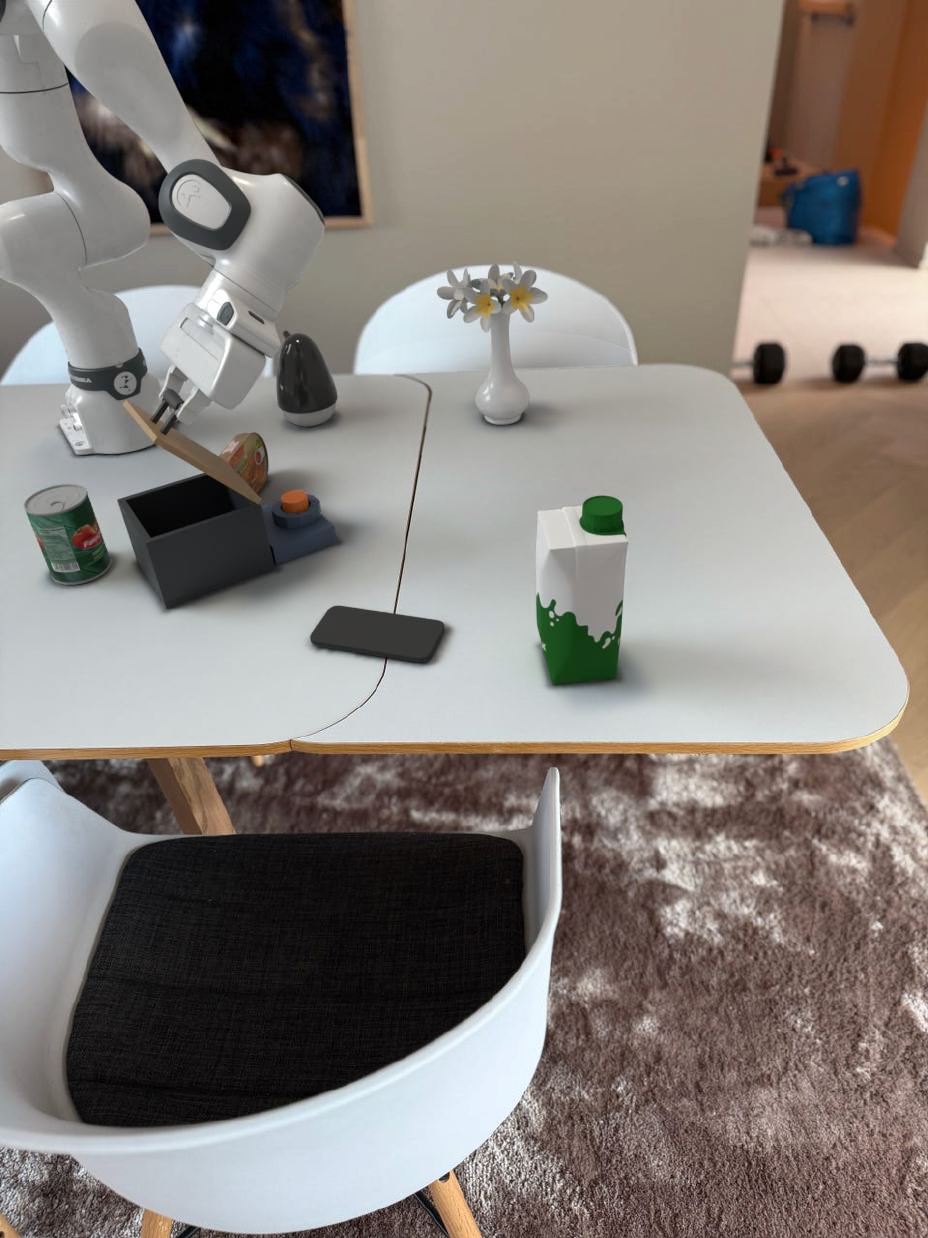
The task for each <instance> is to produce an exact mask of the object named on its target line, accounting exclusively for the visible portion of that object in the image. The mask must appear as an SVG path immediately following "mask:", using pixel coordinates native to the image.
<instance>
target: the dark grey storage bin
mask: <svg viewBox="0 0 928 1238" xmlns="http://www.w3.org/2000/svg"><path fill="white" fill-rule="evenodd" d="M116 502H117V505H118V507H119V511H120V513H121V517H122V520H123V523H124V526H125V528H126V531H127V535H128V538H129V541H130V544H131V547H132V550H133V554H134V556H135V560H136V562H137V564H138V566H139V567H140V569H141V570H142V572H143V574H144V575H145V577H146V578H147V580H148V582H149V583H150V585H151V587H152V588H153V590H154V592H155V593H156V595H157V597H158V598H159V600H160V601H161V603H162V604H163V606H164V608H165V609H166V610H169V609H171V608H174V607H178V606H179V605H182V604H185V603H188V602H190V601H194V600H196V599H199V598H202V597H204V596H207V595H210V594H212V593H216V592H219V591H221V590H224V589H226V588H230V587H232V586H235V585H237V584H240V583H243V582H246V581H249V580H251V579H254V578H256V577H259V576H262V575H265V574H267V573H270V572H273V571H276V568H275V567H276V566H275V562H274V561H273V558H272V553H271V549H270V544H269V540H268V535H267V531H266V526H265V522H264V517H263V513H262V508H263V507H262V504H260V503H259V504H257V503H255V502H253V501H251V500H250V499H248V498H246V497H245V496H243V495H241V494H240V493H238V492H236V491H235V490H233V489H231V488H229V487H228V486H226V485H224V484H223V483H221V482H219V481H218V480H216V479H214V478H213V477H211V476H209V475H207V474H206V473H204V472H202V473H198V474H195V475H192V476H189V477H186V478H185V477H184V478H182V479H179V480H176V481H173V482H169V483H166V484H163V485H159V486H156V487H153V488H149V489H147V490H143V491H140V492H137V493H135V494H130V495H127V496H123V497H121V498H117V499H116Z"/></svg>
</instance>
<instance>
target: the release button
mask: <svg viewBox="0 0 928 1238" xmlns="http://www.w3.org/2000/svg"><path fill="white" fill-rule="evenodd" d="M307 494H308V493H307V492H306V491H304V490H300V489H294V490H289V491H286V492H284V493H283V494H282V495H281V496H280V498H281V503H282V508H283V511H284V512H286V513H299V512H302V511H304V510H306V509H307V508H309V503H308V498H307Z"/></svg>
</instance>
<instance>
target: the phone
mask: <svg viewBox="0 0 928 1238" xmlns="http://www.w3.org/2000/svg"><path fill="white" fill-rule="evenodd" d="M445 630H446V629H445V623H444V622H443V621H441V620H439V619H433V618H426V617H419V616H413V615H408V614H407V615H406V614H400V613H393V612H387V611H381V610H374V609H373V610H372V609H365V608H361V607H360V608H359V607H352V606H347V605H333V606H331V607H329V608H328V609H327V610H326V611H325V613H324V614H323V616H322V617H321V619H320V620H319V622H318V623H317V624H316V626H315V627H314V629H313V630H312V632H311V634H310V636H309V639H310V643H311V644H312V645H314V646H316V647H322V648H328V649H334V650H340V651H347V652H353V653H359V654H365V655H371V656H376V657H382V658H390V659H395V660H401V661H402V660H403V661H407V662H408V661H409V662H413V663H425V662H428V661H429V660H431V658H432V656H433V655H434V653H435V651H436V649H437V647H438V645H439V643H440V641H441V639H442V637H443V635H444V633H445Z"/></svg>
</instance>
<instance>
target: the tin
mask: <svg viewBox="0 0 928 1238" xmlns="http://www.w3.org/2000/svg"><path fill="white" fill-rule="evenodd" d="M218 456H219V457H220V458H222V459H224V460H225V461H226V462H227V463H228V464H229V465H230V466H231V467H232V468H233V469H234V470H235V471H236V472H237V473H238V474H239V476H240V477H241V478H242V479H243V480H244V481H245V482H246V483H247V484H248V485H249V486H250V487H251V488H252V490H253V491H254V492H255V493H256V494H257V495H258V493H259V492H260V490H261V489H262V488H263V486H264V485H265V483H266V481H267V479H268V475H269V466H270V465H269V454H268V449H267V445H266V443H265V441H264V439H263V437H262V436H261V435H260V434H259V433H257V432H255V431H254V432H245V433H238V434H236V435H235V436H234V437H233V438H232V439H231V441H230V442H229V443H228V444H227V446H225V448H224V449H223V450H222V451H221V452H220V454H219V455H218Z"/></svg>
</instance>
